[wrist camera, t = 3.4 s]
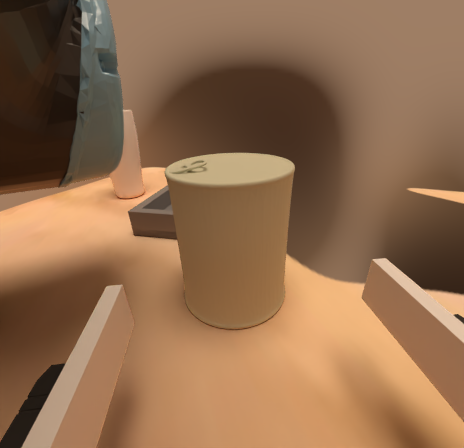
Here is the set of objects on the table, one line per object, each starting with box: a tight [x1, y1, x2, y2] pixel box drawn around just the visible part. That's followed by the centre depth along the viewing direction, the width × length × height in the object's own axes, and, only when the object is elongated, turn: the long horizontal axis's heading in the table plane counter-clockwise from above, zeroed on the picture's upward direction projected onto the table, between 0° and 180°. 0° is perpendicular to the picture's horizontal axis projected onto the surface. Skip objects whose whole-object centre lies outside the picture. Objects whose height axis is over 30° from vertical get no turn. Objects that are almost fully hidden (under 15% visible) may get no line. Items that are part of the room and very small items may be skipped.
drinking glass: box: [109, 110, 145, 199], centre depth 44 cm, size 7×7×15 cm
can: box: [165, 153, 295, 329], centre depth 20 cm, size 9×9×12 cm
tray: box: [128, 185, 177, 239], centre depth 36 cm, size 15×15×4 cm
